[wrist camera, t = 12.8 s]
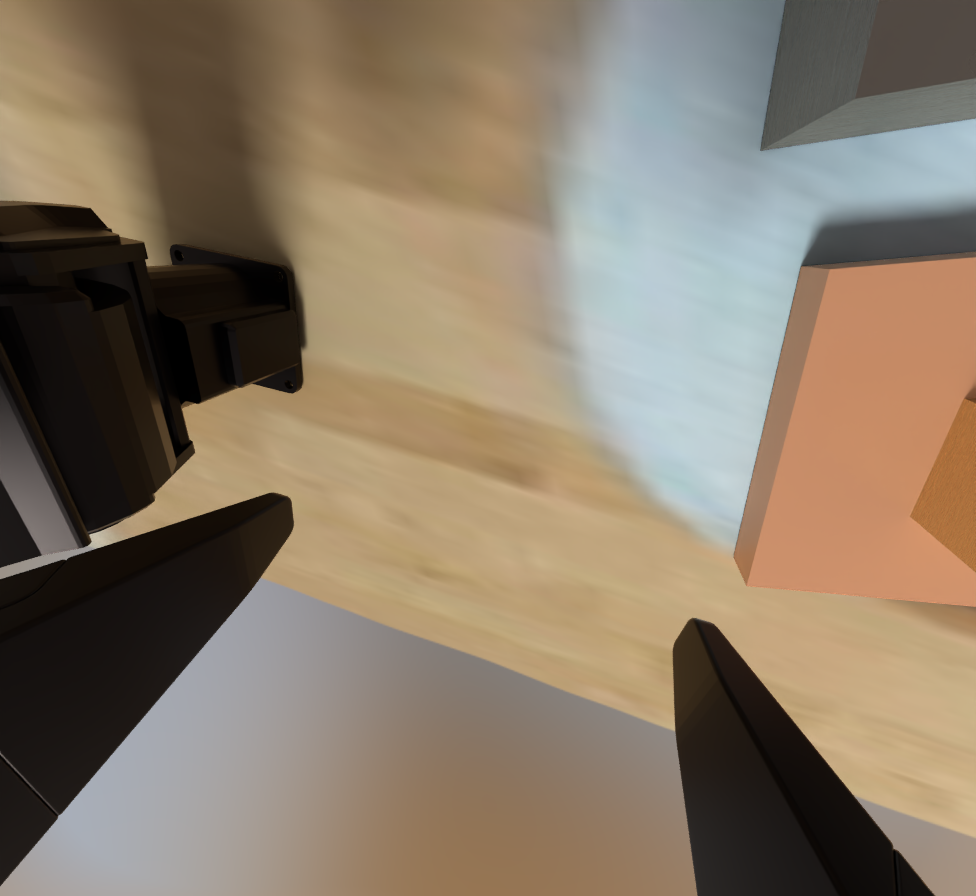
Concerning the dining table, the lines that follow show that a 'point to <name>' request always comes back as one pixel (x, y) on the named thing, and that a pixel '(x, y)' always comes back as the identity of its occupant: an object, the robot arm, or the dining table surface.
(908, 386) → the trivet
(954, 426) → the tan wooden block
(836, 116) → the body
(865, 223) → the dining table surface
